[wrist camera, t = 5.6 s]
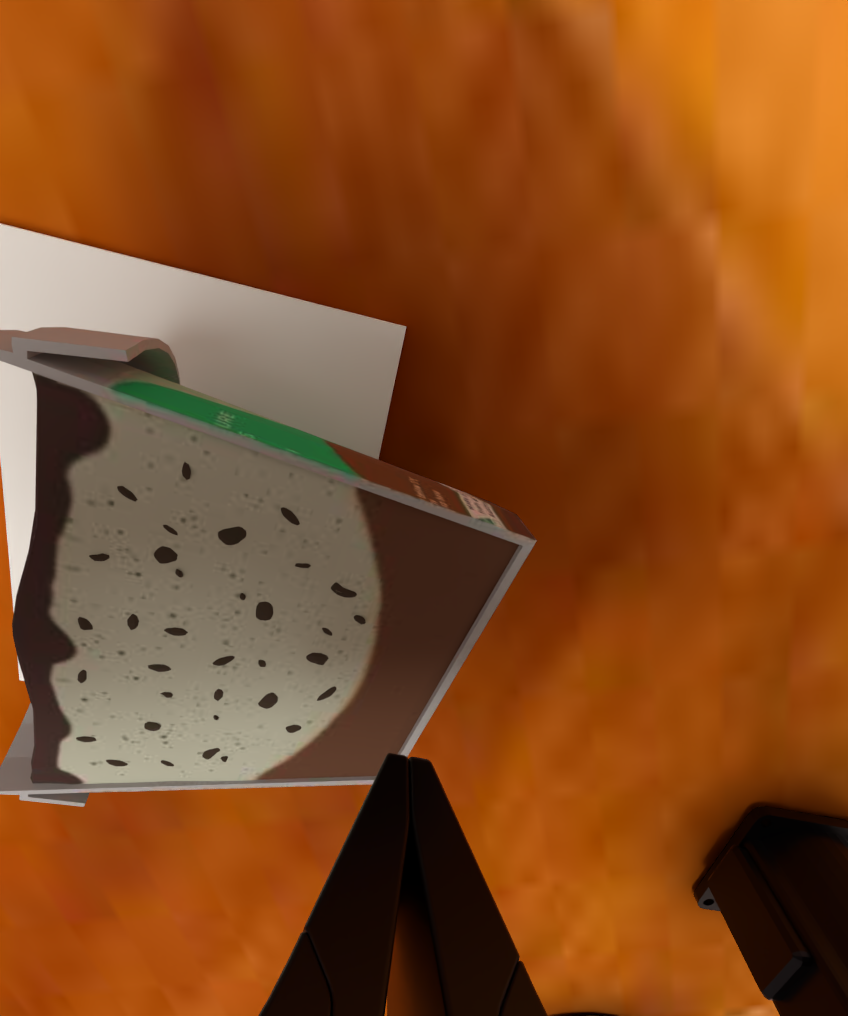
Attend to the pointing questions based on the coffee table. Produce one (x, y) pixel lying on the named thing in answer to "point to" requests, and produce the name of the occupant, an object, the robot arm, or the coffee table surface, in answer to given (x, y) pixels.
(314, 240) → the coffee table surface
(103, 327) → the white flat rectangular board
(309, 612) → the food container
